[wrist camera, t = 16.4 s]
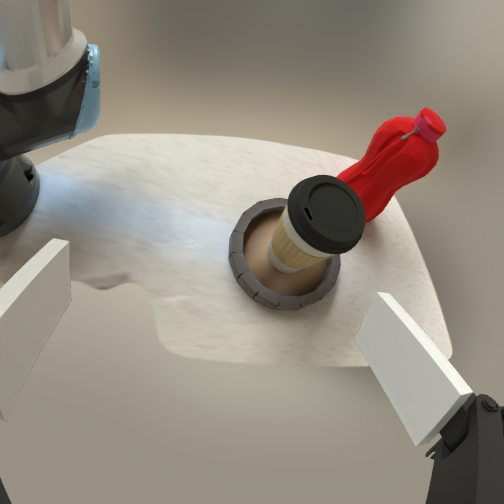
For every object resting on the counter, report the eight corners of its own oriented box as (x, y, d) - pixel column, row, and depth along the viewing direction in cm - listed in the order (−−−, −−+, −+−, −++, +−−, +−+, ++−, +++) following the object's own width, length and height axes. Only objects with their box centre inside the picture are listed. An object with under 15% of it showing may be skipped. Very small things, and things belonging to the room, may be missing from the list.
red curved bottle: (311, 189, 53) (390, 89, 31) (354, 179, 57) (432, 95, 35) (335, 235, 51) (434, 148, 29) (376, 220, 55) (468, 145, 33)
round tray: (208, 275, 43) (211, 270, 41) (256, 188, 50) (261, 180, 48) (312, 328, 44) (319, 326, 42) (343, 238, 51) (351, 232, 49)
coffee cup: (325, 273, 47) (383, 235, 34) (270, 294, 43) (318, 259, 30) (299, 218, 49) (345, 165, 36) (245, 233, 46) (278, 176, 32)
